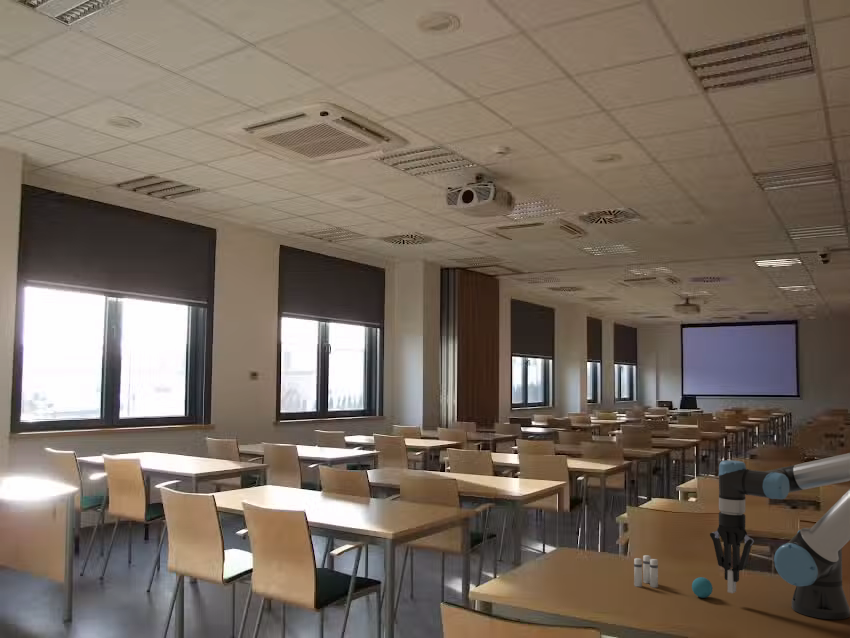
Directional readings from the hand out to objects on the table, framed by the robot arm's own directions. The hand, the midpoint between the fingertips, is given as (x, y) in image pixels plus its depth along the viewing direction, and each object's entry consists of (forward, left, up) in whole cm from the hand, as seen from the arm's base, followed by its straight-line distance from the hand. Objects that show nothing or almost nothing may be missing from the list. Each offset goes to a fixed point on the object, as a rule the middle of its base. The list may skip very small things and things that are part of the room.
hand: (731, 591), depth 228 cm
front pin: (+24, +9, -4) cm, 25 cm away
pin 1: (+26, +13, -4) cm, 30 cm away
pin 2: (+28, +7, -4) cm, 30 cm away
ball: (+9, +3, -1) cm, 9 cm away
